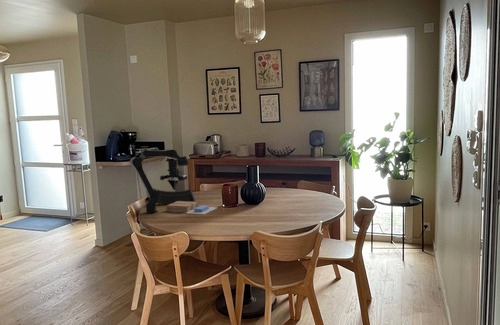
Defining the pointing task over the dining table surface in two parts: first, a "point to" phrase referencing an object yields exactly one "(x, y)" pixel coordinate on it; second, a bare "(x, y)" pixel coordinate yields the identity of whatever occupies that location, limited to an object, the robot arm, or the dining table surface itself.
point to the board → (182, 206)
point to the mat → (203, 211)
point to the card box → (201, 208)
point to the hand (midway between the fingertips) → (174, 189)
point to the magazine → (174, 196)
